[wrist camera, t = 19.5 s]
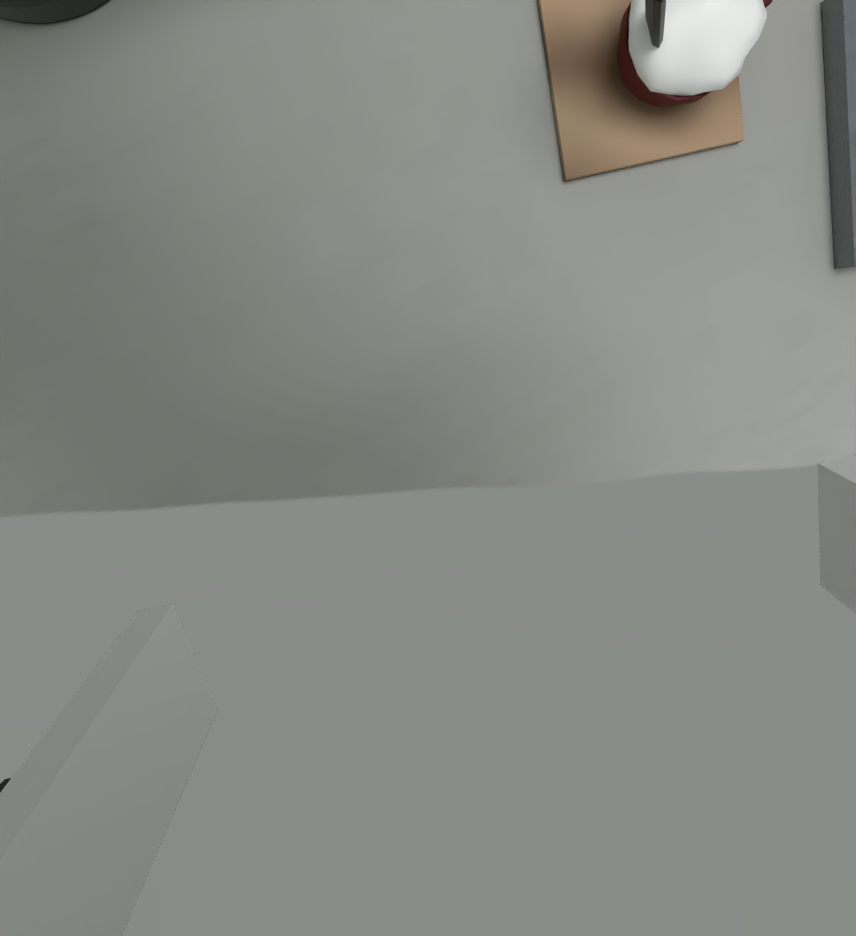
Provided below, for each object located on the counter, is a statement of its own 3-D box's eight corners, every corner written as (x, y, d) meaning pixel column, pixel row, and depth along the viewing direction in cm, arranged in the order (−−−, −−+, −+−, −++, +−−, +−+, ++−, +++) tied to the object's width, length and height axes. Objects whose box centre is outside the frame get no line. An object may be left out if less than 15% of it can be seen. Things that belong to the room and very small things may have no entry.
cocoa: (741, 0, 34) (927, -179, 22) (726, 127, 35) (894, 22, 23) (567, -11, 33) (662, -201, 21) (558, 118, 34) (643, 6, 23)
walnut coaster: (534, -16, 34) (536, -22, 33) (721, -61, 33) (726, -67, 33) (564, 181, 36) (566, 179, 35) (738, 142, 36) (743, 139, 35)
